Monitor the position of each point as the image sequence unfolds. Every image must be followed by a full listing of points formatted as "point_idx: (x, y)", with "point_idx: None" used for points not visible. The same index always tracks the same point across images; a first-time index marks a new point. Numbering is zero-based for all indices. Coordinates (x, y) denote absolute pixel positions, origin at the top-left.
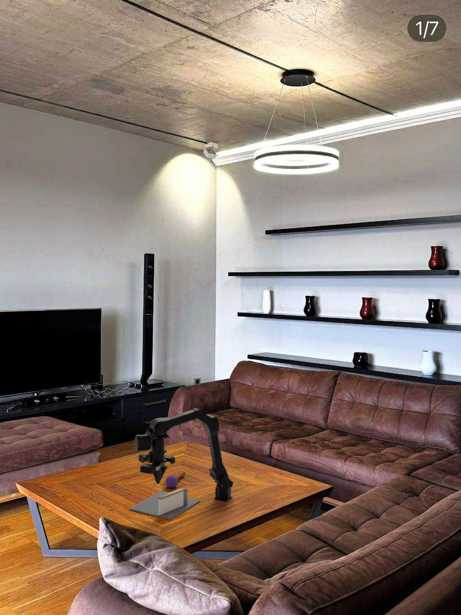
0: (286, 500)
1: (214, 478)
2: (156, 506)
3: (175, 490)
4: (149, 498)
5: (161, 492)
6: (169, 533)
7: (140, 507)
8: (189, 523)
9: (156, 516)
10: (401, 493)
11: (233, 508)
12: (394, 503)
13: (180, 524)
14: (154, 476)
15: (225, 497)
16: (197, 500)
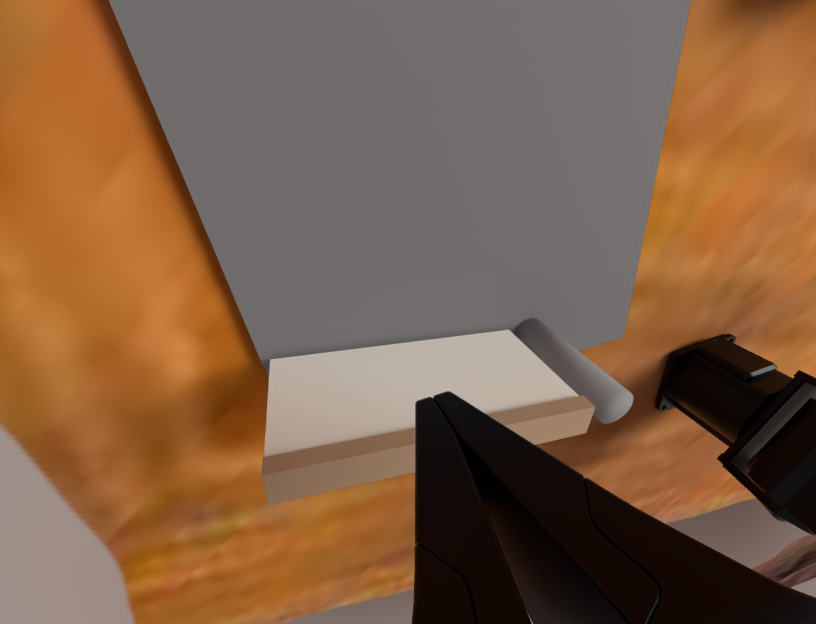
0: (714, 499)
1: (791, 479)
2: (383, 206)
3: (525, 421)
4: None
5: None
6: (164, 557)
7: (246, 87)
8: (346, 507)
9: (256, 342)
10: (790, 563)
11: (596, 472)
12: None
13: (300, 499)
14: (416, 565)
15: (680, 405)
16: (615, 328)
